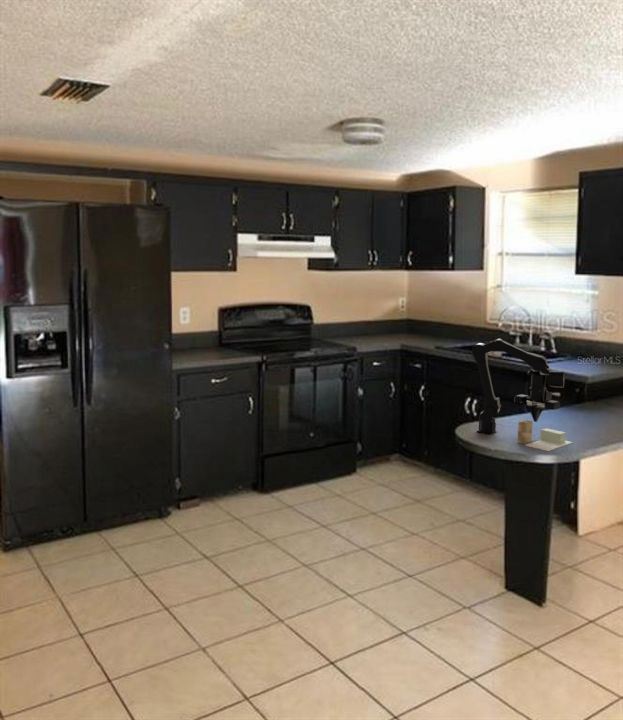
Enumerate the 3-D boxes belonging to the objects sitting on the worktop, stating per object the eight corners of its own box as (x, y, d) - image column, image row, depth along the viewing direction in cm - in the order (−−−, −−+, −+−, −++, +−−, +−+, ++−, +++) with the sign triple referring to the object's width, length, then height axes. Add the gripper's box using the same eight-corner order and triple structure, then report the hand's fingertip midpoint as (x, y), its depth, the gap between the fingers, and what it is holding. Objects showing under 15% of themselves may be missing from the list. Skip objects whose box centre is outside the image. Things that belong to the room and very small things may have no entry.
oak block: (517, 442, 287) (518, 421, 285) (522, 440, 289) (523, 419, 288) (525, 444, 284) (527, 423, 282) (531, 442, 286) (532, 421, 285)
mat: (524, 445, 282) (524, 444, 282) (549, 437, 294) (549, 436, 294) (548, 451, 274) (548, 450, 274) (572, 442, 286) (572, 442, 286)
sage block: (540, 429, 290) (560, 434, 283) (545, 428, 293) (565, 432, 286) (540, 438, 291) (559, 443, 284) (545, 437, 293) (564, 441, 287)
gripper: (568, 386, 290) (565, 423, 292) (528, 380, 304) (526, 414, 306) (554, 390, 282) (551, 427, 285) (514, 383, 296) (512, 418, 299)
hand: (535, 421), depth 294 cm, fingers closed
